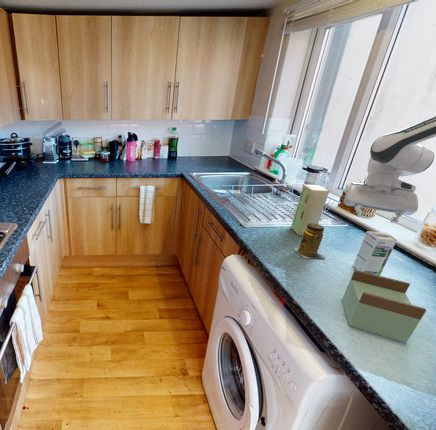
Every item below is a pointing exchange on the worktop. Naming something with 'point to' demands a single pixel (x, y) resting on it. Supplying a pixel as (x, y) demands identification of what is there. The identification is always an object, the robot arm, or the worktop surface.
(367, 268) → the syrup box
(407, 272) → the worktop surface
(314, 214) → the toy refrigerator
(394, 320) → the open green tray
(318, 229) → the condiment
